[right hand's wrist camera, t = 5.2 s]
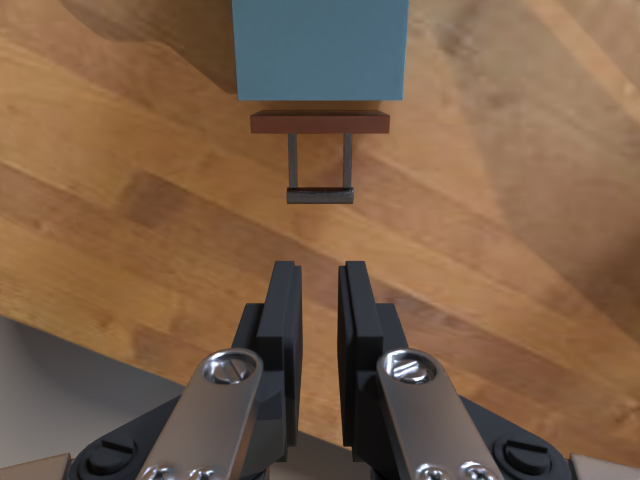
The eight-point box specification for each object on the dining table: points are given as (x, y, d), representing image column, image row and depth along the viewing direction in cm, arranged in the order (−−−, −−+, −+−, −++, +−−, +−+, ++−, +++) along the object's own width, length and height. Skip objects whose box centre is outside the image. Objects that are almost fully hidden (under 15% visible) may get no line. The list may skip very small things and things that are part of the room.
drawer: (374, 190, 37) (385, 210, 31) (265, 190, 37) (255, 210, 31) (391, -177, 28) (410, -246, 22) (248, -176, 28) (229, -246, 22)
